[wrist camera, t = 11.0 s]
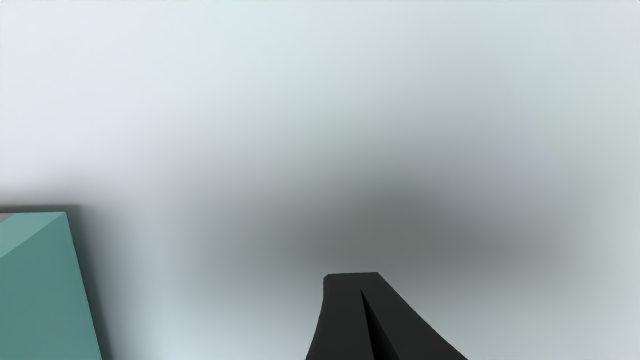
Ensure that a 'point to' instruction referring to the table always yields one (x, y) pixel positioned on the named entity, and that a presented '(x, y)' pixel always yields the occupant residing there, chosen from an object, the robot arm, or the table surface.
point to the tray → (42, 291)
